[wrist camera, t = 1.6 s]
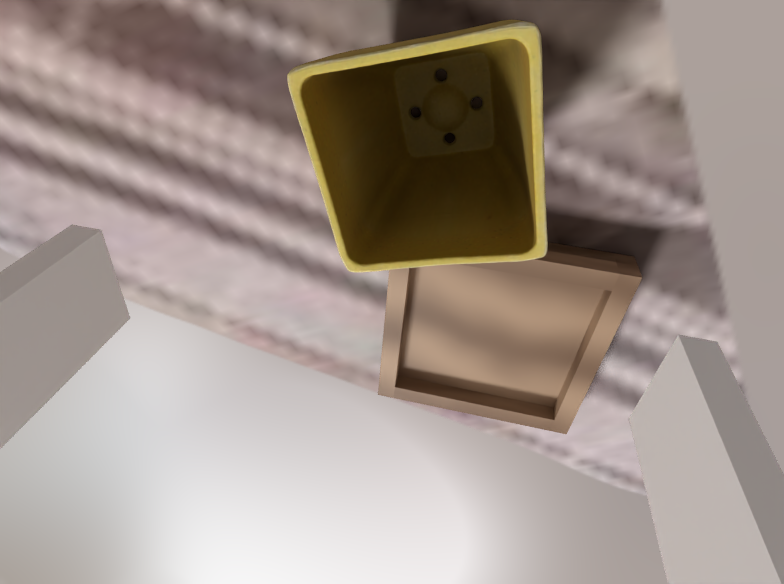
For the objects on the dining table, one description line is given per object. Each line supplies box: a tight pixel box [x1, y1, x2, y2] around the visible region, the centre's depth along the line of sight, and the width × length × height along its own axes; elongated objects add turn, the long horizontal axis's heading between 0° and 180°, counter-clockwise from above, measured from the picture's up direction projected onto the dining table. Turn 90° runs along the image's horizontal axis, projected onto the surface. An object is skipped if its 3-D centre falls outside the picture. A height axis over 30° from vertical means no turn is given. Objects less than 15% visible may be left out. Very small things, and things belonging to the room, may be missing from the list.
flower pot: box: [287, 20, 548, 272], centre depth 22 cm, size 9×9×9 cm
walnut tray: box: [378, 242, 642, 434], centre depth 32 cm, size 14×14×2 cm
